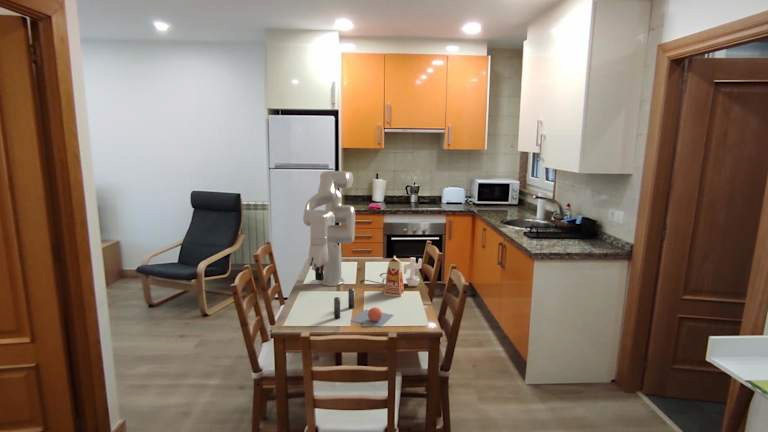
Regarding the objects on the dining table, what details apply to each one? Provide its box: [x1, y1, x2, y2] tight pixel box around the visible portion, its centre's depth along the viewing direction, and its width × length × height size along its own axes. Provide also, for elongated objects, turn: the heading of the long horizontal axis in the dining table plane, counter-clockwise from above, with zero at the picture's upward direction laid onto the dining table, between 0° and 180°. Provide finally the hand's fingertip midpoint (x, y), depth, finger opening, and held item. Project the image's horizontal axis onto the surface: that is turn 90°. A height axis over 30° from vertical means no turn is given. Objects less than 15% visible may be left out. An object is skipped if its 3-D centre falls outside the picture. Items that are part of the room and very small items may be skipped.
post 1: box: [333, 297, 341, 320], centre depth 193 cm, size 3×3×9 cm
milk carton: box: [383, 255, 405, 297], centre depth 225 cm, size 9×9×20 cm
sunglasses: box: [360, 272, 387, 287], centre depth 245 cm, size 17×15×5 cm
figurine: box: [403, 257, 423, 287], centre depth 238 cm, size 7×9×15 cm
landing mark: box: [350, 309, 394, 328], centre depth 195 cm, size 14×14×1 cm
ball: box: [368, 306, 383, 322], centre depth 191 cm, size 6×6×6 cm
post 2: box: [347, 287, 355, 310], centre depth 205 cm, size 3×3×9 cm
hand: (319, 279), depth 203 cm, fingers closed
